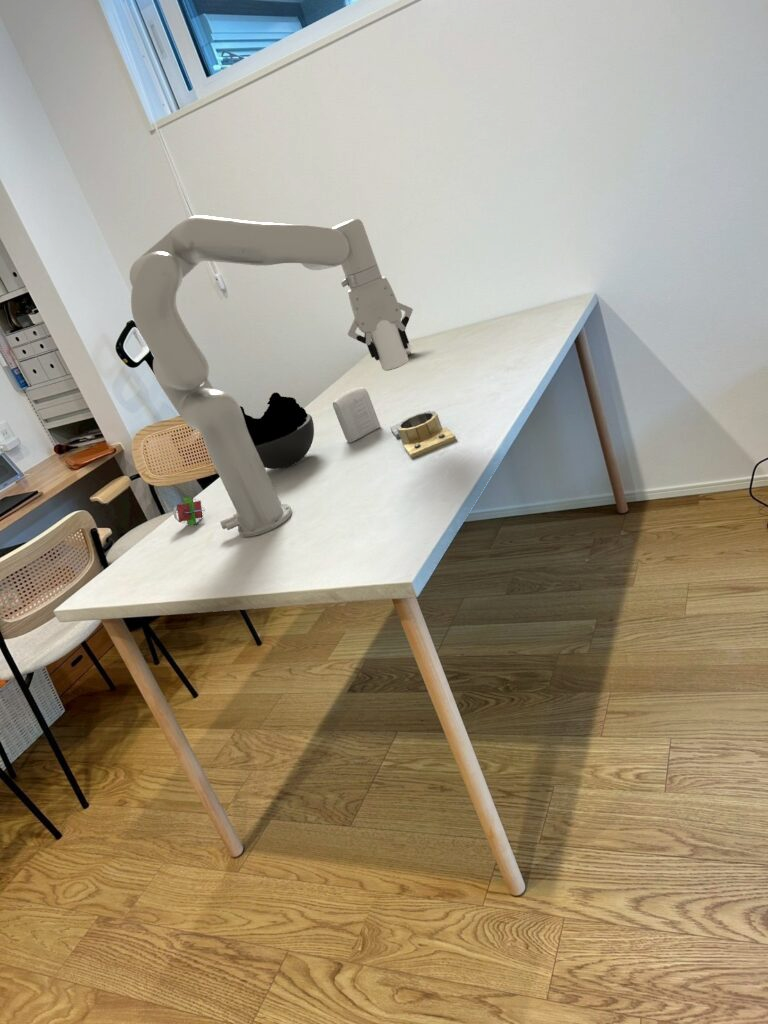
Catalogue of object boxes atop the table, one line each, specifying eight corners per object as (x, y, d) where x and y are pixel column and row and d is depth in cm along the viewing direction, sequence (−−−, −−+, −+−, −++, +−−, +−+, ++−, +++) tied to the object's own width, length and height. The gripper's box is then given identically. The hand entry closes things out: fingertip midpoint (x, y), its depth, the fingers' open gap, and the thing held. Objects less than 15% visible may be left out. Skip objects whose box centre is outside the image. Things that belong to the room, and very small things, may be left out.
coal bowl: (340, 444, 207) (313, 378, 200) (293, 480, 194) (263, 411, 187) (287, 450, 220) (260, 388, 213) (240, 485, 206) (209, 420, 199)
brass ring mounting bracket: (411, 459, 177) (405, 443, 176) (391, 431, 201) (386, 417, 200) (456, 440, 177) (451, 424, 176) (431, 414, 201) (426, 400, 200)
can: (378, 373, 182) (359, 323, 177) (390, 363, 187) (372, 315, 182) (401, 367, 178) (383, 317, 174) (413, 357, 183) (396, 308, 178)
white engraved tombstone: (375, 425, 211) (358, 382, 207) (383, 426, 208) (367, 383, 203) (344, 442, 207) (327, 399, 203) (352, 443, 204) (334, 400, 199)
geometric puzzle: (200, 503, 197) (173, 491, 192) (215, 503, 192) (189, 491, 187) (190, 530, 195) (163, 518, 190) (206, 531, 190) (179, 519, 185)
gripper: (329, 293, 171) (359, 370, 178) (403, 264, 171) (429, 341, 178) (326, 291, 178) (354, 364, 184) (397, 262, 178) (422, 337, 185)
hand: (391, 352), depth 181 cm, fingers closed on can, 6 cm apart
